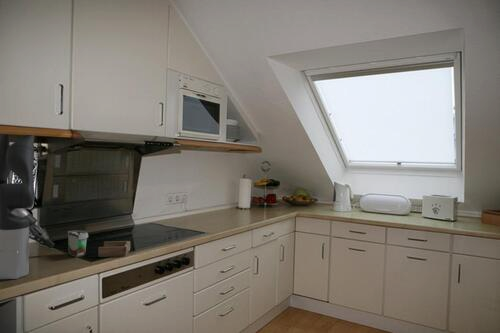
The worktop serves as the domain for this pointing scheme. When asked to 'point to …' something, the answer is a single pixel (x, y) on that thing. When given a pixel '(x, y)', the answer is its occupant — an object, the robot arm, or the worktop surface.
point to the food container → (77, 243)
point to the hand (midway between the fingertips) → (52, 246)
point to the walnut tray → (114, 249)
